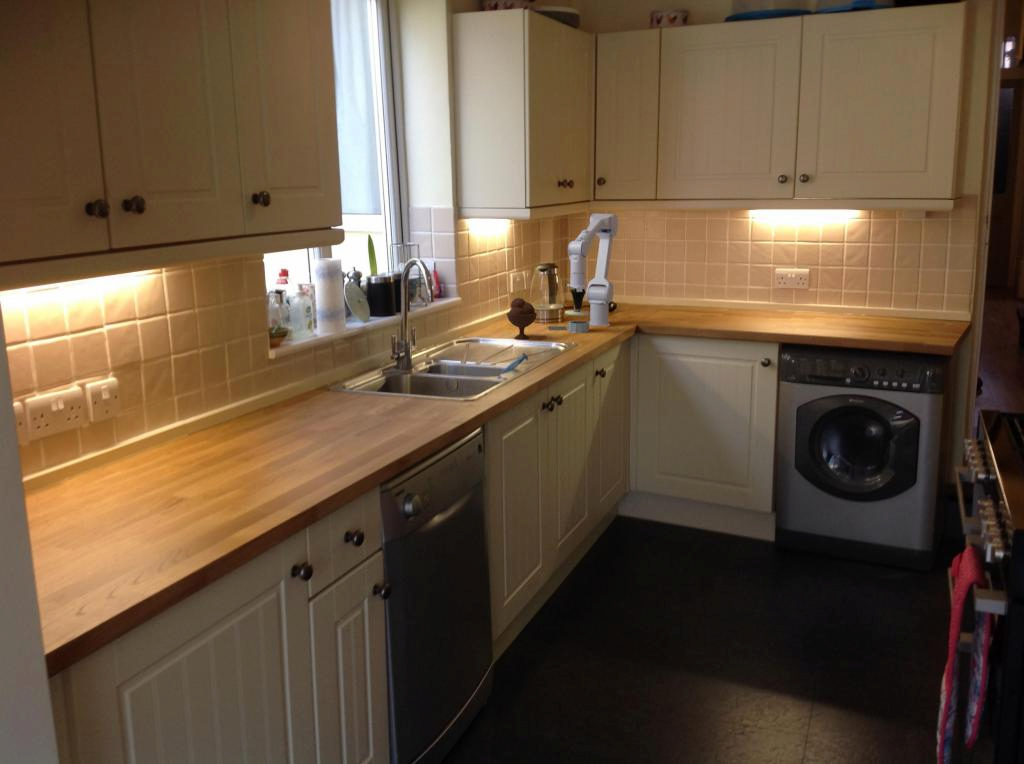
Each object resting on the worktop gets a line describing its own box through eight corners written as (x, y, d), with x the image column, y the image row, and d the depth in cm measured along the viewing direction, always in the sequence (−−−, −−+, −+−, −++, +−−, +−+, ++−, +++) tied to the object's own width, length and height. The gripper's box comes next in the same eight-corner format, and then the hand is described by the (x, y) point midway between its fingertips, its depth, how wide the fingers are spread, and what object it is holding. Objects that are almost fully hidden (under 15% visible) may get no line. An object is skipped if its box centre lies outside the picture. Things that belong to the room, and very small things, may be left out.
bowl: (567, 331, 372) (567, 320, 372) (587, 330, 373) (587, 320, 372) (568, 334, 365) (568, 324, 364) (589, 334, 365) (590, 323, 364)
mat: (547, 328, 380) (547, 326, 380) (565, 327, 380) (565, 326, 380) (549, 331, 371) (549, 330, 371) (567, 331, 372) (567, 330, 371)
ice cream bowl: (512, 341, 350) (512, 300, 347) (503, 336, 360) (503, 296, 357) (540, 340, 353) (540, 299, 349) (531, 335, 363) (531, 295, 360)
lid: (564, 311, 372) (565, 299, 371) (588, 312, 372) (588, 300, 371) (565, 315, 363) (565, 302, 362) (589, 316, 363) (589, 303, 362)
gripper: (566, 270, 371) (565, 306, 374) (568, 274, 357) (568, 311, 360) (584, 270, 371) (583, 305, 374) (587, 274, 357) (587, 311, 360)
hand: (577, 308), depth 367 cm, fingers closed on lid, 2 cm apart
